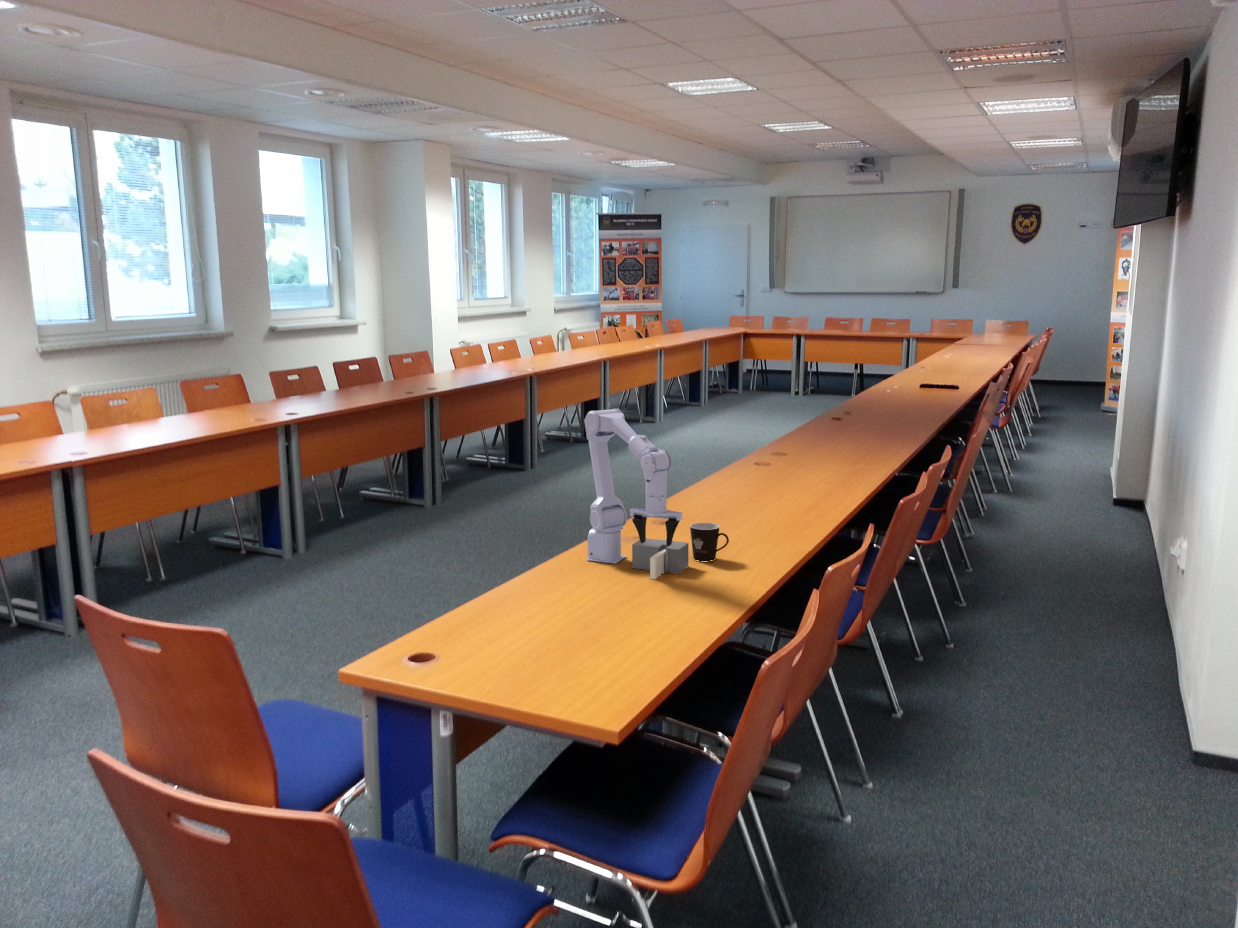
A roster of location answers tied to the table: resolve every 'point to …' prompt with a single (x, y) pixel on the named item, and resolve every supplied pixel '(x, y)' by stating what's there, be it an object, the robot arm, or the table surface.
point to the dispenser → (644, 551)
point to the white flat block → (657, 564)
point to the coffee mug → (705, 540)
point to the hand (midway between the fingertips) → (655, 543)
